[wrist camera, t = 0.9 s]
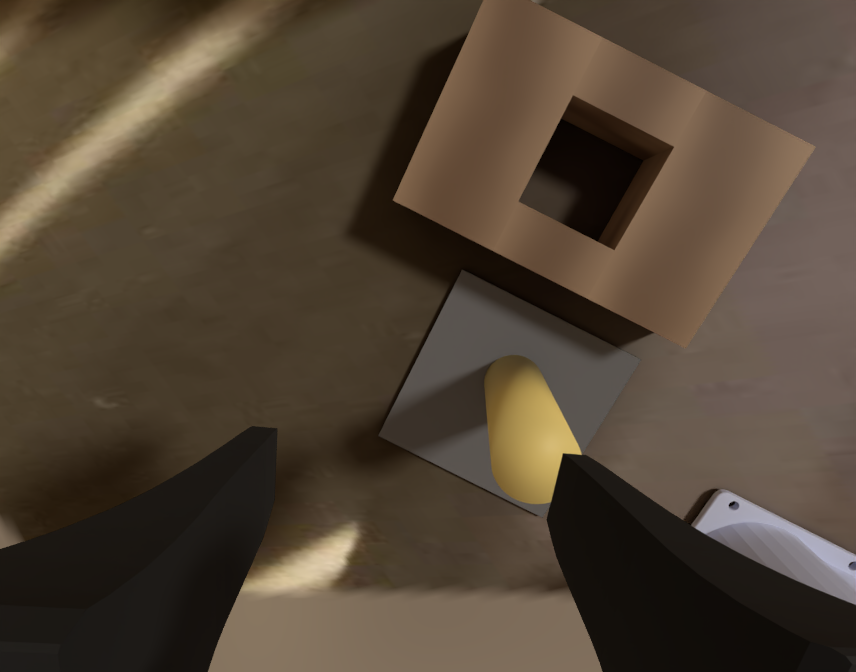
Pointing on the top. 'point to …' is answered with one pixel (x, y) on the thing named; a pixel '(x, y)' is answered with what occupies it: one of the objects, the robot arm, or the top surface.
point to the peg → (524, 430)
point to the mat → (466, 368)
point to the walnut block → (618, 125)
